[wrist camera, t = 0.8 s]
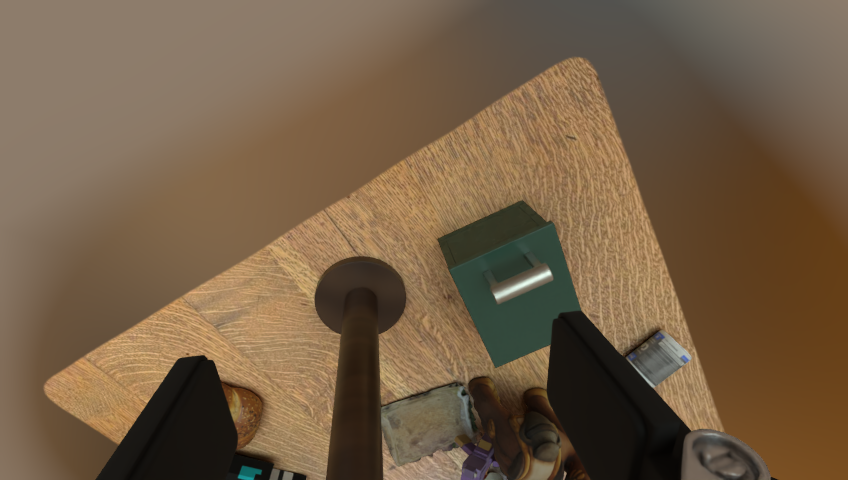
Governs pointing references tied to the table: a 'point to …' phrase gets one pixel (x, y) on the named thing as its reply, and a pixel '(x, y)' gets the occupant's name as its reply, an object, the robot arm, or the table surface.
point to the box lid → (517, 292)
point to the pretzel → (243, 412)
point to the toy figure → (476, 457)
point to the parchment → (428, 423)
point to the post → (358, 359)
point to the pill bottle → (658, 358)
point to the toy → (257, 470)
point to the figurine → (526, 436)
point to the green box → (489, 232)
